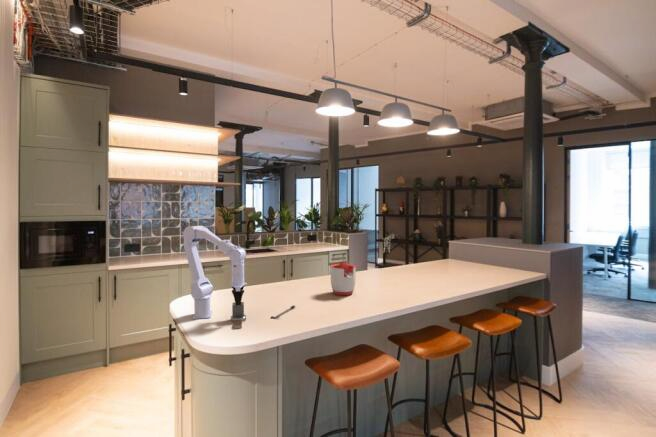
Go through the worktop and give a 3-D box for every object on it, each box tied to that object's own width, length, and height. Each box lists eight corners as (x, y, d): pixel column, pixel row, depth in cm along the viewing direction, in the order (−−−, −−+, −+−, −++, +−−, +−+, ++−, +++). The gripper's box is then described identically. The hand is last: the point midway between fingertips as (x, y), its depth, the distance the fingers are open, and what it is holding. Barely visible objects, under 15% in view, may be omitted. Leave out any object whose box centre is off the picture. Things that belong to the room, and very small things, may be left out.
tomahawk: (282, 322, 170) (282, 320, 170) (270, 319, 173) (270, 317, 173) (303, 309, 189) (303, 307, 189) (292, 307, 192) (292, 304, 192)
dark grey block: (232, 315, 172) (232, 302, 172) (243, 314, 173) (243, 301, 173) (232, 318, 167) (232, 305, 167) (243, 317, 168) (243, 304, 168)
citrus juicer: (338, 298, 209) (338, 264, 208) (326, 291, 224) (326, 259, 224) (362, 295, 215) (362, 262, 214) (348, 289, 231) (348, 258, 230)
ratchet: (230, 318, 173) (230, 308, 172) (245, 317, 174) (245, 307, 174) (230, 329, 158) (229, 318, 157) (246, 328, 159) (246, 317, 159)
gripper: (247, 276, 163) (247, 306, 164) (246, 270, 177) (246, 298, 178) (230, 277, 161) (231, 307, 162) (231, 271, 175) (231, 299, 176)
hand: (238, 302), depth 170 cm, fingers open, 7 cm apart
